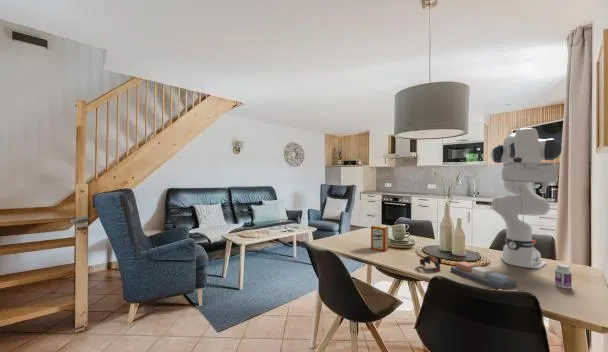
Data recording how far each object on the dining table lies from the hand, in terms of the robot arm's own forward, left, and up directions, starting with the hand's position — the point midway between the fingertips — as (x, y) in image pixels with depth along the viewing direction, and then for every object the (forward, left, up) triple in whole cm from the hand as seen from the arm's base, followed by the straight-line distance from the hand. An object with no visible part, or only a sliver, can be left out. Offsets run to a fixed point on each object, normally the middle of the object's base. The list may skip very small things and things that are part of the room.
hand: (530, 192), depth 113 cm
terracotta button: (+6, -25, -42) cm, 50 cm away
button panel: (+6, -17, -44) cm, 47 cm away
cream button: (+6, -17, -42) cm, 46 cm away
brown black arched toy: (+18, -36, -44) cm, 60 cm away
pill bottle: (-20, +3, -44) cm, 48 cm away
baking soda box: (+22, -75, -44) cm, 90 cm away
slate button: (+6, -9, -42) cm, 44 cm away
